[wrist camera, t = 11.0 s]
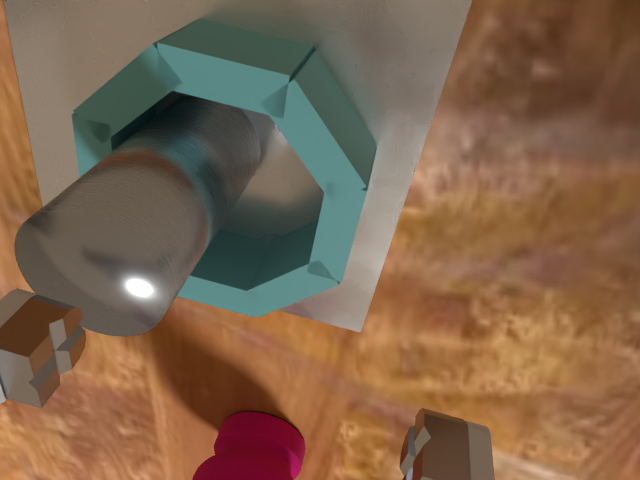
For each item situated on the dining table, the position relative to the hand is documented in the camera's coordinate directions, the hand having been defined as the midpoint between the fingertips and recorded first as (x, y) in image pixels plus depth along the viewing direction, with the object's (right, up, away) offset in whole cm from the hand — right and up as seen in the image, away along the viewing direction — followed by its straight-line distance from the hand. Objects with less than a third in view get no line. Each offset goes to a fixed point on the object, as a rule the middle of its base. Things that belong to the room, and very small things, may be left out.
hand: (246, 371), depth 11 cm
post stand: (-3, +8, +10) cm, 13 cm away
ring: (-1, +6, +9) cm, 12 cm away
